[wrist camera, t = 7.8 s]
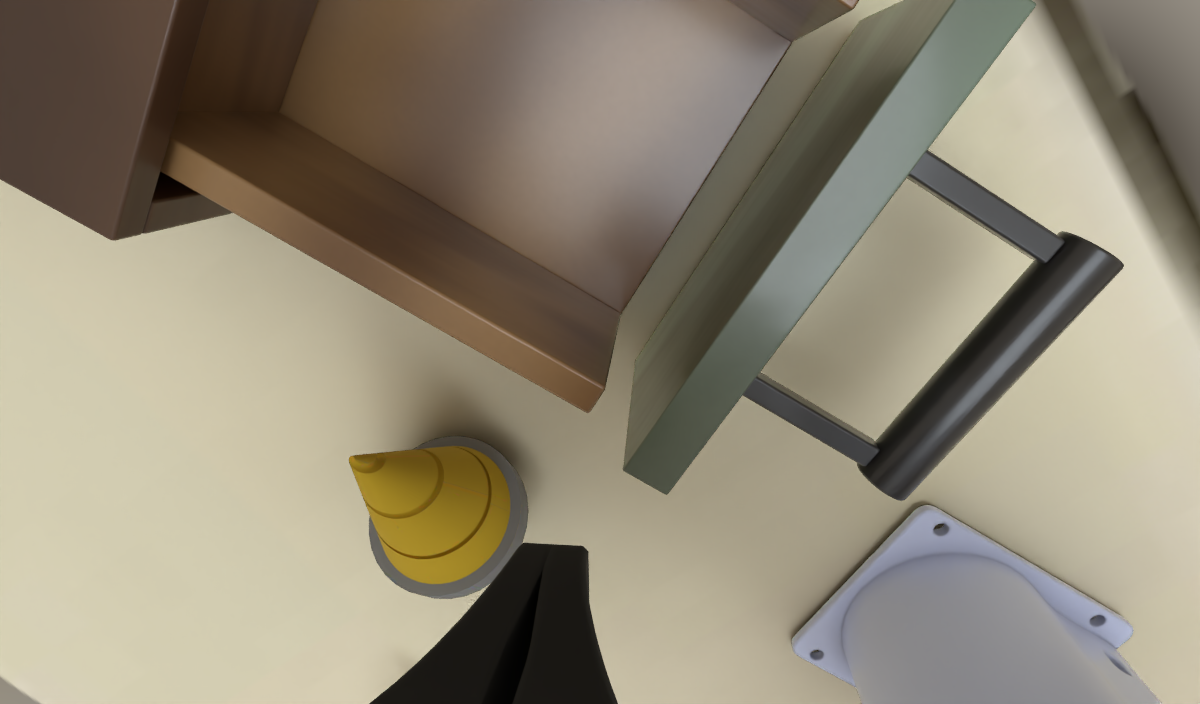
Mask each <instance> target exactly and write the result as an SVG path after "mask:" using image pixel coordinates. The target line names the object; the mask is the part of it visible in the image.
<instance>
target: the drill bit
mask: <svg viewBox="0 0 1200 704" xmlns="http://www.w3.org/2000/svg"><path fill="white" fill-rule="evenodd" d="M349 463H350V466H351V468H352V471H353V473H354V476H355V478H356V481H357V483H358V486H359V488H360V491H361V493H362V496H363V499H364V501H365V504H366V506H367V509H368V511H369V514H370V518H369V536H370V542H371V548H372V551H373V554H374V556H375V559H376V561H377V563H378V565H379V566H380V568H381V569H382V571H383V572H384V574H385V575H386V576H387V577H388V578H389V579H391V580H392V581H393V582H394V583H395V584H396V585H398V586H400V587H401V588H403V589H405V590H407V591H409V592H412V593H416V594H419V595H423V596H427V597H431V598H439V599H452V598H458V597H464V596H467V595H469V594H472V593H474V592H477V591H479V590H481V589H482V588H484V587H486V586H487V585H489V584H490V583H492V581H493V580H494V579H495V577H496V576H497V575H498V574H499V572H500V571H501V570H502V569H503V567H504V566H505V565H506V563H507V562H508V561H509V559H510V558H511V556H512V555H513V554H514V552H515V551H516V550H517V548H518V547H519V546H520V545H521V544H522V542H523V538H524V535H525V532H526V528H527V520H528V502H527V495H526V491H525V488H524V485H523V482H522V480H521V478H520V476H519V475H518V473H517V471H516V470H515V468H514V467H513V466H512V465H511V464H510V463H509V462H508V460H507V459H506V458H505V457H504V456H503V455H502V454H501V453H500V452H498V451H497V450H495V449H494V448H493V447H491V446H490V445H489V444H486V443H484V442H482V441H480V440H477V439H474V438H469V437H464V436H448V437H443V438H438V439H434V440H431V441H429V442H426V443H424V444H421V445H420V446H418V447H416V448H415V449H413V450H404V451H394V452H384V453H377V454H376V453H374V454H363V455H355V456H350V458H349Z"/></svg>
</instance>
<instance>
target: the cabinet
mask: <svg viewBox="0 0 1200 704" xmlns="http://www.w3.org/2000/svg"><path fill="white" fill-rule="evenodd" d="M208 4H209V0H0V179H1V180H3V181H4V182H6V183H8V184H10V185H12V186H13V187H15V188H17V189H19V190H21V191H23V192H24V193H26V194H28V195H30V196H32V197H33V198H35V199H37V200H39V201H41V202H43V203H44V204H46V205H48V206H50V207H52V208H53V209H55V210H57V211H59V212H61V213H63V214H64V215H66V216H68V217H70V218H72V219H74V220H75V221H77V222H79V223H81V224H83V225H84V226H86V227H88V228H90V229H92V230H94V231H95V232H97V233H99V234H101V235H103V236H104V237H106V238H108V239H110V240H119V239H124V238H128V237H132V236H136V235H140V234H141V233H145V234H146V233H150V232H154V231H158V230H163V229H167V228H171V227H175V226H180V225H184V224H188V223H192V222H197V221H201V220H205V219H209V218H214V217H218V216H222V215H226V214H231V213H233V212H231V211H229V210H228V209H226V208H224V207H222V206H221V205H219V204H217V203H215V202H214V201H212V200H210V199H208V198H206V197H205V196H203V195H201V194H199V193H198V192H196V191H194V190H192V189H191V188H189V187H187V186H185V185H184V184H182V183H180V182H178V181H176V180H175V179H173V178H171V177H169V176H168V175H166V174H164V173H162V172H161V171H160V170H161V167H162V163H163V160H164V156H165V153H166V149H167V146H168V142H169V139H170V135H171V132H172V129H173V125H174V122H175V118H176V115H177V111H178V108H179V104H180V101H181V97H182V94H183V90H184V87H185V84H186V80H187V77H188V73H189V70H190V66H191V63H192V59H193V56H194V52H195V49H196V45H197V42H198V39H199V35H200V32H201V28H202V25H203V21H204V18H205V14H206V11H207V7H208Z"/></svg>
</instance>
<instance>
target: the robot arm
mask: <svg viewBox="0 0 1200 704" xmlns="http://www.w3.org/2000/svg"><path fill="white" fill-rule="evenodd" d="M941 523H944V525H943V527H941V528H939V529H934V527H935V526H936V525H938V524H941ZM1096 615H1097V616H1096ZM1094 616H1096V617H1094ZM1092 617H1094V618H1092ZM1133 631H1134V630H1133V627H1132V626H1131V624H1130V623H1129V622H1128V621H1127V620H1126V619H1125V618H1124V617H1122V616H1120V615H1119V614H1117V613H1115V612H1114V611H1112V610H1110V609H1109V608H1107V607H1105V606H1103V605H1102V604H1100V603H1098V602H1097V601H1095V600H1093V599H1091V598H1090V597H1088V596H1086V595H1085V594H1083V593H1081V592H1080V591H1078V590H1076V589H1074V588H1073V587H1071V586H1069V585H1068V584H1066V583H1064V582H1063V581H1061V580H1059V579H1057V578H1056V577H1054V576H1052V575H1051V574H1049V573H1047V572H1045V571H1044V570H1042V569H1040V568H1039V567H1037V566H1035V565H1034V564H1032V563H1030V562H1028V561H1027V560H1025V559H1023V558H1022V557H1020V556H1018V555H1017V554H1015V553H1013V552H1011V551H1010V550H1008V549H1006V548H1005V547H1003V546H1001V545H1000V544H998V543H996V542H994V541H993V540H991V539H989V538H988V537H986V536H984V535H982V534H981V533H979V532H977V531H976V530H974V529H972V528H971V527H969V526H967V525H965V524H964V523H962V522H960V521H959V520H957V519H955V518H954V517H952V516H950V515H948V514H947V513H945V512H943V511H942V510H940V509H938V508H936V507H934V506H931V505H923V506H920V507H918V508H917V509H915V510H914V511H913V512H912V513H911V514H910V515H909V516H908V518H907V519H906V520H905V521H904V522H903V523H902V524H901V525H900V526H899V527H898V528H897V529H896V530H895V531H894V532H893V533H892V534H891V535H890V536H889V537H888V538H887V539H886V540H885V542H884V543H883V544H882V545H881V546H880V547H879V548H878V549H877V550H876V551H875V552H874V553H873V554H872V555H871V556H870V557H869V558H868V559H867V560H866V561H865V562H864V563H863V565H862V566H861V567H860V568H859V569H858V570H857V571H856V572H855V573H854V574H853V575H852V576H851V577H850V578H849V579H848V580H847V581H846V582H845V583H844V584H843V585H842V586H841V588H840V589H839V590H838V591H837V592H836V593H835V594H834V595H833V596H832V597H831V598H830V599H829V600H828V601H827V602H826V603H825V604H824V605H823V606H822V607H821V608H820V609H819V610H818V612H817V613H816V614H815V615H814V616H813V617H812V618H811V619H810V620H809V621H808V622H807V623H806V624H805V625H804V626H803V627H802V628H801V629H800V630H799V631H798V632H797V633H796V635H795V636H794V637H793V638H792V643H791V644H792V648H793V651H794V653H795V654H796V655H797V656H799V657H801V658H803V659H804V660H806V661H808V662H810V663H812V664H814V665H815V666H817V667H819V668H821V669H823V670H825V671H827V672H828V673H830V674H832V675H834V676H836V677H838V678H839V679H841V680H843V681H845V682H847V683H849V684H851V685H852V686H854V687H856V689H857V692H858V695H859V698H860V701H861V704H1162V703H1161V702H1160V700H1159V699H1158V698H1157V697H1156V696H1155V695H1154V693H1153V692H1152V691H1151V690H1150V689H1149V687H1148V686H1147V685H1146V684H1145V683H1144V682H1143V680H1142V679H1141V678H1140V677H1139V676H1138V674H1137V673H1136V672H1135V671H1134V670H1133V668H1132V667H1131V666H1130V665H1129V664H1128V663H1127V661H1126V660H1125V659H1124V658H1123V657H1122V655H1121V654H1120V653H1119V652H1118V651H1117V650H1116V649H1117V648H1118V647H1120V646H1121V645H1122V644H1123V643H1125V642H1126V641H1127V640H1128V639H1129V638H1130V637H1131V636H1132V634H1133ZM813 650H819V651H818V652H812V651H813ZM370 704H618V703H617V700H616V697H615V694H614V692H613V689H612V686H611V684H610V681H609V678H608V675H607V672H606V669H605V665H604V662H603V659H602V655H601V652H600V648H599V645H598V641H597V637H596V633H595V629H594V624H593V619H592V615H591V610H590V605H589V563H588V551H587V550H586V549H585V548H584V547H583V546H572V545H554V544H535V543H523V544H521V545H520V546H519V547H518V548H517V550H516V551H515V552H514V554H513V555H512V556H511V558H510V559H509V561H508V562H507V563H506V565H505V566H504V567H503V569H502V570H501V571H500V572H499V574H498V575H497V576H496V577H495V579H494V580H493V581H492V583H491V584H490V585H489V586H488V588H487V589H486V590H485V591H484V592H483V593H482V595H481V596H480V597H479V598H478V599H477V601H476V602H475V603H474V604H473V605H472V606H471V608H470V609H469V610H468V611H467V612H466V613H465V614H464V616H463V617H462V618H461V619H460V620H459V621H458V622H457V623H456V624H455V625H454V626H453V627H452V628H451V629H450V631H449V632H448V633H447V634H446V635H445V636H444V637H443V638H442V639H441V640H440V641H439V642H438V643H437V644H436V645H435V646H434V647H433V648H432V649H431V650H430V651H429V652H428V653H427V654H426V655H425V656H424V657H423V658H422V659H421V660H420V661H419V662H418V663H417V664H415V665H414V666H413V667H412V668H411V669H410V670H409V671H408V672H407V673H405V674H404V675H403V676H402V677H401V678H400V679H399V680H398V681H396V682H395V683H394V684H393V685H392V686H390V687H389V688H388V689H387V690H386V691H384V692H383V693H382V694H381V695H379V696H378V697H377V698H376V699H374V700H373V701H372V702H371V703H370Z"/></svg>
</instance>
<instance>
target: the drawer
mask: <svg viewBox="0 0 1200 704" xmlns="http://www.w3.org/2000/svg"><path fill="white" fill-rule="evenodd" d="M858 1H859V0H209V4H208V7H207V11H206V14H205V18H204V21H203V25H202V28H201V32H200V35H199V39H198V42H197V45H196V49H195V52H194V56H193V59H192V63H191V66H190V70H189V73H188V77H187V80H186V84H185V87H184V90H183V94H182V97H181V101H180V104H179V108H178V111H177V115H176V118H175V122H174V125H173V129H172V132H171V135H170V139H169V142H168V146H167V149H166V153H165V156H164V160H163V163H162V167H161V170H160V171H161V172H162V173H164V174H166V175H168V176H169V177H171V178H173V179H175V180H176V181H178V182H180V183H182V184H184V185H185V186H187V187H189V188H191V189H192V190H194V191H196V192H198V193H199V194H201V195H203V196H205V197H206V198H208V199H210V200H212V201H214V202H215V203H217V204H219V205H221V206H222V207H224V208H226V209H228V210H229V211H231V212H233V213H235V214H237V215H238V216H240V217H242V218H244V219H245V220H247V221H249V222H251V223H252V224H254V225H256V226H258V227H259V228H261V229H263V230H265V231H267V232H268V233H270V234H272V235H274V236H275V237H277V238H279V239H281V240H282V241H284V242H286V243H288V244H289V245H291V246H293V247H295V248H297V249H298V250H300V251H302V252H304V253H305V254H307V255H309V256H311V257H312V258H314V259H316V260H318V261H319V262H321V263H323V264H325V265H327V266H328V267H330V268H332V269H334V270H335V271H337V272H339V273H341V274H342V275H344V276H346V277H348V278H350V279H351V280H353V281H355V282H357V283H358V284H360V285H362V286H364V287H365V288H367V289H369V290H371V291H372V292H374V293H376V294H378V295H380V296H381V297H383V298H385V299H387V300H388V301H390V302H392V303H394V304H395V305H397V306H399V307H401V308H402V309H404V310H406V311H408V312H410V313H411V314H413V315H415V316H417V317H418V318H420V319H422V320H424V321H425V322H427V323H429V324H431V325H432V326H434V327H436V328H438V329H440V330H441V331H443V332H445V333H447V334H448V335H450V336H452V337H454V338H455V339H457V340H459V341H461V342H463V343H464V344H466V345H468V346H470V347H471V348H473V349H475V350H477V351H478V352H480V353H482V354H484V355H485V356H487V357H489V358H491V359H493V360H494V361H496V362H498V363H500V364H501V365H503V366H505V367H507V368H508V369H510V370H512V371H514V372H515V373H517V374H519V375H521V376H523V377H524V378H526V379H528V380H530V381H531V382H533V383H535V384H537V385H538V386H540V387H542V388H544V389H545V390H547V391H549V392H551V393H553V394H554V395H556V396H558V397H560V398H561V399H563V400H565V401H567V402H568V403H570V404H572V405H574V406H576V407H577V408H579V409H581V410H583V411H584V412H586V413H589V412H590V411H591V410H592V408H593V407H594V405H595V404H596V402H597V401H598V399H599V398H600V396H601V395H602V393H603V392H604V390H605V387H606V382H607V377H608V373H609V368H610V363H611V358H612V354H613V349H614V344H615V339H616V335H617V330H618V325H619V320H620V315H621V314H622V312H623V311H624V309H625V307H626V306H627V304H628V303H629V301H630V299H631V298H632V296H633V295H634V293H635V292H636V290H637V288H638V287H639V285H640V284H641V282H642V280H643V279H644V277H645V276H646V274H647V272H648V271H649V269H650V268H651V266H652V265H653V263H654V261H655V260H656V258H657V257H658V255H659V253H660V252H661V250H662V249H663V247H664V246H665V244H666V242H667V241H668V239H669V238H670V236H671V234H672V233H673V231H674V230H675V228H676V226H677V225H678V223H679V222H680V220H681V219H682V217H683V215H684V214H685V212H686V211H687V209H688V207H689V206H690V204H691V203H692V201H693V199H694V198H695V196H696V195H697V193H698V192H699V190H700V188H701V187H702V185H703V184H704V182H705V180H706V179H707V177H708V176H709V174H710V173H711V171H712V169H713V168H714V166H715V165H716V163H717V161H718V160H719V158H720V157H721V155H722V153H723V152H724V150H725V149H726V147H727V146H728V144H729V142H730V141H731V139H732V138H733V136H734V134H735V133H736V131H737V130H738V128H739V127H740V125H741V123H742V122H743V120H744V119H745V117H746V115H747V114H748V112H749V111H750V109H751V107H752V106H753V104H754V103H755V101H756V100H757V98H758V96H759V95H760V93H761V92H762V90H763V88H764V87H765V85H766V84H767V82H768V80H769V79H770V77H771V76H772V74H773V73H774V71H775V69H776V68H777V66H778V65H779V63H780V61H781V60H782V58H783V57H784V55H785V54H786V52H787V50H788V49H789V47H790V46H791V44H792V42H794V41H795V40H797V39H799V38H801V37H803V36H805V35H806V34H808V33H810V32H812V31H814V30H816V29H818V28H819V27H821V26H823V25H825V24H827V23H829V22H830V21H832V20H834V19H836V18H838V17H840V16H842V15H843V14H845V13H847V12H849V11H851V10H852V9H854V8H855V6H856V4H857V3H858ZM1035 6H1036V3H1035V2H1033V1H1032V0H903V1H901V2H899V3H897V4H894V5H892V6H890V7H888V8H886V9H884V10H882V11H879V12H877V13H875V14H873V15H871V16H869V17H867V18H864V19H862V20H860V21H859V23H858V24H857V26H856V27H855V29H854V30H853V32H852V33H851V35H850V36H849V38H848V39H847V41H846V42H845V44H844V45H843V47H842V48H841V50H840V51H839V53H838V54H837V56H836V57H835V59H834V60H833V62H832V63H831V65H830V66H829V68H828V69H827V71H826V72H825V74H824V76H823V77H822V79H821V80H820V82H819V83H818V85H817V86H816V88H815V89H814V91H813V92H812V94H811V95H810V97H809V98H808V100H807V101H806V103H805V104H804V106H803V107H802V109H801V110H800V112H799V113H798V115H797V116H796V118H795V119H794V121H793V122H792V124H791V125H790V127H789V128H788V130H787V132H786V133H785V135H784V136H783V138H782V139H781V141H780V142H779V144H778V145H777V147H776V148H775V150H774V151H773V153H772V154H771V156H770V157H769V159H768V160H767V162H766V163H765V165H764V166H763V168H762V169H761V171H760V172H759V174H758V175H757V177H756V178H755V180H754V181H753V183H752V184H751V186H750V188H749V189H748V191H747V192H746V194H745V195H744V197H743V198H742V200H741V201H740V203H739V204H738V206H737V207H736V209H735V210H734V212H733V213H732V215H731V216H730V218H729V219H728V221H727V222H726V224H725V225H724V227H723V228H722V230H721V231H720V233H719V234H718V236H717V237H716V239H715V241H714V242H713V244H712V245H711V247H710V248H709V250H708V251H707V253H706V254H705V256H704V257H703V259H702V260H701V262H700V263H699V265H698V266H697V268H696V269H695V271H694V272H693V274H692V275H691V277H690V278H689V280H688V281H687V283H686V284H685V286H684V287H683V289H682V290H681V292H680V293H679V295H678V297H677V298H676V300H675V301H674V303H673V304H672V306H671V307H670V309H669V310H668V312H667V313H666V315H665V316H664V318H663V319H662V321H661V322H660V324H659V325H658V327H657V328H656V330H655V331H654V333H653V334H652V336H651V337H650V339H649V340H648V342H647V343H646V345H645V346H644V348H643V350H642V351H641V353H640V354H639V356H638V357H637V359H636V360H635V368H634V376H633V385H632V394H631V403H630V412H629V421H628V430H627V439H626V447H625V456H624V465H623V471H624V472H626V473H628V474H630V475H632V476H633V477H635V478H637V479H639V480H641V481H642V482H644V483H646V484H648V485H649V486H651V487H653V488H655V489H657V490H658V491H660V492H662V493H664V494H666V495H667V494H668V493H669V492H670V491H671V489H672V488H673V487H674V485H675V484H676V483H677V481H678V480H679V479H680V477H681V476H682V475H683V473H684V472H685V471H686V469H687V468H688V467H689V465H690V464H691V463H692V461H693V460H694V459H695V457H696V456H697V455H698V453H699V452H700V451H701V449H702V448H703V447H704V445H705V444H706V443H707V441H708V440H709V439H710V437H711V436H712V435H713V434H714V432H715V431H716V430H717V428H718V427H719V426H720V424H721V423H722V422H723V420H724V419H725V418H726V416H727V415H728V414H729V412H730V411H731V410H732V408H733V407H734V406H735V404H736V403H737V402H738V400H739V399H740V398H741V396H742V395H743V396H745V397H747V398H748V399H750V400H752V401H753V402H755V403H757V404H758V405H760V406H762V407H764V408H765V409H767V410H769V411H770V412H772V413H774V414H776V415H777V416H779V417H781V418H782V419H784V420H786V421H787V422H789V423H791V424H793V425H794V426H796V427H798V428H799V429H801V430H803V431H804V432H806V433H808V434H810V435H811V436H813V437H815V438H816V439H818V440H820V441H822V442H823V443H825V444H827V445H828V446H830V447H832V448H833V449H835V450H837V451H839V452H840V453H842V454H844V455H845V456H847V457H849V458H850V459H852V460H854V461H856V462H857V466H858V468H859V470H860V471H861V473H862V474H863V475H864V476H865V477H866V478H867V479H868V480H869V481H870V482H871V483H872V484H873V485H874V486H875V487H877V488H878V489H879V490H881V491H882V492H883V493H885V494H887V495H888V496H890V497H892V498H894V499H896V500H900V501H903V500H905V499H906V498H907V497H908V496H909V495H910V494H911V493H912V492H913V491H914V490H915V489H916V487H917V486H918V485H919V484H920V483H921V482H922V481H923V480H924V479H925V478H926V477H927V476H928V475H929V474H930V473H931V472H932V470H933V469H934V468H935V467H936V466H937V465H938V464H939V463H940V462H941V461H942V460H943V459H944V458H945V457H946V456H947V455H948V453H949V452H950V451H951V450H952V449H953V448H954V447H955V446H956V445H957V444H958V443H959V442H960V441H961V440H962V439H963V438H964V436H965V435H966V434H967V433H968V432H969V431H970V430H971V429H972V428H973V427H974V426H975V425H976V424H977V423H978V422H979V421H980V419H981V418H982V417H983V416H984V415H985V414H986V413H987V412H988V411H989V410H990V409H991V408H992V407H993V406H994V405H995V404H996V403H997V401H998V400H999V399H1000V398H1001V397H1002V396H1003V395H1004V394H1005V393H1006V392H1007V391H1008V390H1009V389H1010V388H1011V387H1012V386H1013V384H1014V383H1015V382H1016V381H1017V380H1018V379H1019V378H1020V377H1021V376H1022V375H1023V374H1024V373H1025V372H1026V371H1027V370H1028V369H1029V367H1030V366H1031V365H1032V364H1033V363H1034V362H1035V361H1036V360H1037V359H1038V358H1039V357H1040V356H1041V355H1042V354H1043V353H1044V352H1045V350H1046V349H1047V348H1048V347H1049V346H1050V345H1051V344H1052V343H1053V342H1054V341H1055V340H1056V339H1057V338H1058V337H1059V336H1060V335H1061V333H1062V332H1063V331H1064V330H1065V329H1066V328H1067V327H1068V326H1069V325H1070V324H1071V323H1072V322H1073V321H1074V320H1075V319H1076V318H1077V317H1078V315H1079V314H1080V313H1081V312H1082V311H1083V310H1084V309H1085V308H1086V307H1087V306H1088V305H1089V304H1090V303H1091V302H1092V301H1093V300H1094V298H1095V297H1096V296H1097V295H1098V294H1099V293H1100V292H1101V291H1102V290H1103V289H1104V288H1105V287H1106V286H1107V285H1108V284H1109V283H1110V281H1111V280H1112V279H1113V278H1114V277H1115V276H1116V275H1117V274H1118V273H1119V272H1120V271H1121V270H1122V269H1123V267H1124V265H1123V263H1122V262H1121V261H1120V260H1119V259H1118V258H1116V257H1115V256H1114V255H1112V254H1111V253H1109V252H1107V251H1106V250H1104V249H1102V248H1101V247H1099V246H1097V245H1095V244H1093V243H1091V242H1090V241H1088V240H1085V239H1083V238H1081V237H1079V236H1077V235H1074V234H1071V233H1068V232H1063V231H1062V232H1059V233H1058V234H1057V235H1056V234H1054V233H1053V232H1051V231H1050V230H1048V229H1047V228H1045V227H1044V226H1042V225H1041V224H1039V223H1038V222H1036V221H1035V220H1033V219H1031V218H1030V217H1028V216H1027V215H1025V214H1024V213H1022V212H1021V211H1019V210H1018V209H1016V208H1015V207H1013V206H1012V205H1010V204H1009V203H1007V202H1006V201H1004V200H1003V199H1001V198H1000V197H998V196H997V195H995V194H993V193H992V192H990V191H989V190H987V189H986V188H984V187H983V186H981V185H980V184H978V183H977V182H975V181H974V180H972V179H971V178H969V177H968V176H966V175H965V174H963V173H962V172H960V171H959V170H957V169H955V168H954V167H952V166H951V165H949V164H948V163H946V162H945V161H943V160H942V159H940V158H939V157H937V156H936V155H934V154H933V153H931V152H930V151H928V148H929V147H930V146H931V144H932V143H933V142H934V140H935V139H936V138H937V136H938V135H939V134H940V133H941V131H942V130H943V129H944V127H945V126H946V125H947V123H948V122H949V121H950V119H951V118H952V117H953V115H954V114H955V113H956V111H957V110H958V109H959V107H960V106H961V105H962V103H963V102H964V101H965V99H966V98H967V97H968V95H969V94H970V93H971V91H972V90H973V89H974V87H975V86H976V85H977V83H978V82H979V81H980V79H981V78H982V77H983V75H984V74H985V73H986V72H987V70H988V69H989V68H990V66H991V65H992V64H993V62H994V61H995V60H996V58H997V57H998V56H999V54H1000V53H1001V52H1002V50H1003V49H1004V48H1005V46H1006V45H1007V44H1008V42H1009V41H1010V40H1011V38H1012V37H1013V36H1014V34H1015V33H1016V32H1017V30H1018V29H1019V28H1020V26H1021V25H1022V24H1023V22H1024V21H1025V20H1026V18H1027V17H1028V16H1029V14H1030V13H1031V12H1032V11H1033V9H1034V8H1035ZM906 178H908V179H909V180H911V181H912V182H914V183H915V184H917V185H918V186H920V187H921V188H923V189H925V190H926V191H928V192H929V193H931V194H932V195H934V196H935V197H937V198H938V199H940V200H941V201H943V202H945V203H946V204H948V205H949V206H951V207H952V208H954V209H955V210H957V211H958V212H960V213H961V214H963V215H965V216H966V217H968V218H969V219H971V220H972V221H974V222H975V223H977V224H978V225H980V226H981V227H983V228H985V229H986V230H988V231H989V232H991V233H992V234H994V235H995V236H997V237H998V238H1000V239H1001V240H1003V241H1005V242H1006V243H1008V244H1009V245H1011V246H1012V247H1014V248H1015V249H1017V250H1018V251H1020V252H1021V253H1023V254H1025V255H1026V256H1028V257H1029V258H1031V259H1033V260H1034V261H1033V263H1032V264H1031V265H1030V266H1029V267H1028V268H1027V269H1026V271H1025V272H1024V273H1023V274H1022V275H1021V276H1020V277H1019V279H1018V280H1017V281H1016V282H1015V283H1014V284H1013V285H1012V286H1011V288H1010V289H1009V290H1008V291H1007V292H1006V293H1005V294H1004V296H1003V297H1002V298H1001V299H1000V300H999V301H998V302H997V304H996V305H995V306H994V307H993V308H992V309H991V310H990V311H989V313H988V314H987V315H986V316H985V317H984V318H983V319H982V321H981V322H980V323H979V324H978V325H977V326H976V327H975V329H974V330H973V331H972V332H971V333H970V334H969V335H968V337H967V338H966V339H965V340H964V341H963V342H962V343H961V344H960V346H959V347H958V348H957V349H956V350H955V351H954V352H953V354H952V355H951V356H950V357H949V358H948V359H947V360H946V362H945V363H944V364H943V365H942V366H941V367H940V368H939V370H938V371H937V372H936V373H935V374H934V375H933V376H932V377H931V379H930V380H929V381H928V382H927V383H926V384H925V385H924V387H923V388H922V389H921V390H920V391H919V392H918V393H917V395H916V396H915V397H914V398H913V399H912V400H911V401H910V403H909V404H908V405H907V406H906V407H905V408H904V409H903V410H902V412H901V413H900V414H899V415H898V416H897V417H896V418H895V420H894V421H893V422H892V423H891V424H890V425H889V426H888V428H887V429H886V430H885V431H884V432H883V433H882V434H881V436H880V437H879V438H878V439H877V440H876V441H875V442H874V440H873V439H872V438H870V437H868V436H867V435H865V434H863V433H862V432H860V431H858V430H857V429H855V428H853V427H852V426H850V425H848V424H847V423H845V422H843V421H842V420H840V419H838V418H836V417H835V416H833V415H831V414H830V413H828V412H826V411H825V410H823V409H821V408H820V407H818V406H816V405H815V404H813V403H811V402H810V401H808V400H806V399H804V398H803V397H801V396H799V395H798V394H796V393H794V392H793V391H791V390H789V389H788V388H786V387H784V386H783V385H781V384H779V383H777V382H776V381H774V380H772V379H771V378H769V377H767V376H766V375H764V374H762V373H761V372H760V371H761V370H762V369H763V367H764V366H765V365H766V363H767V362H768V361H769V359H770V358H771V357H772V355H773V354H774V353H775V351H776V350H777V349H778V347H779V346H780V345H781V343H782V342H783V341H784V339H785V338H786V337H787V335H788V334H789V333H790V331H791V330H792V329H793V327H794V326H795V325H796V323H797V322H798V321H799V319H800V318H801V317H802V315H803V314H804V313H805V312H806V310H807V309H808V308H809V306H810V305H811V304H812V302H813V301H814V300H815V298H816V297H817V296H818V294H819V293H820V292H821V290H822V289H823V288H824V286H825V285H826V284H827V282H828V281H829V280H830V278H831V277H832V276H833V274H834V273H835V272H836V270H837V269H838V268H839V266H840V265H841V264H842V262H843V261H844V260H845V258H846V257H847V256H848V255H849V253H850V252H851V251H852V249H853V248H854V247H855V245H856V244H857V243H858V241H859V240H860V239H861V237H862V236H863V235H864V233H865V232H866V231H867V229H868V228H869V227H870V225H871V224H872V223H873V221H874V220H875V219H876V217H877V216H878V215H879V213H880V212H881V211H882V209H883V208H884V207H885V205H886V204H887V203H888V201H889V200H890V199H891V197H892V196H893V195H894V194H895V192H896V191H897V190H898V188H899V187H900V186H901V184H902V183H903V182H904V180H905V179H906Z"/></svg>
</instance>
